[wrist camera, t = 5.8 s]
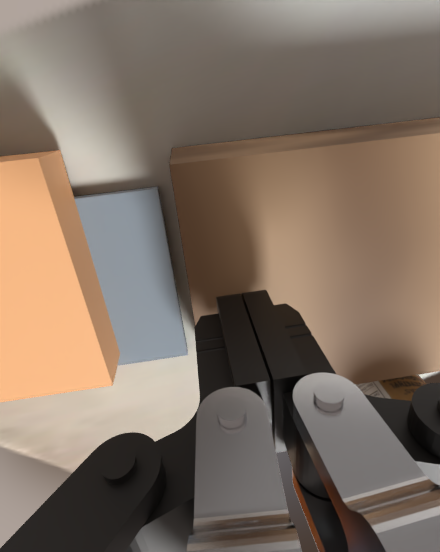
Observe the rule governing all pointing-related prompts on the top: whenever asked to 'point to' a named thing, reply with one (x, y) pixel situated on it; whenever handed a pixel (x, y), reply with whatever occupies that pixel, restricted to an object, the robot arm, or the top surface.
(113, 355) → the thin peach tile
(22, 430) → the top surface
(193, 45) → the top surface
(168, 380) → the top surface
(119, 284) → the mat
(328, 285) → the block
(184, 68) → the top surface
